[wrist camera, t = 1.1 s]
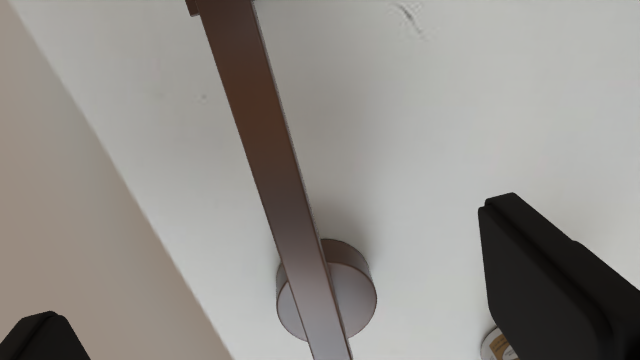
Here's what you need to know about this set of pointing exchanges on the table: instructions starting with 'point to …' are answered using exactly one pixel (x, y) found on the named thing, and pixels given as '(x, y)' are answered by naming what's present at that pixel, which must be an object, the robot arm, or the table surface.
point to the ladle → (286, 191)
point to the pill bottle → (497, 347)
